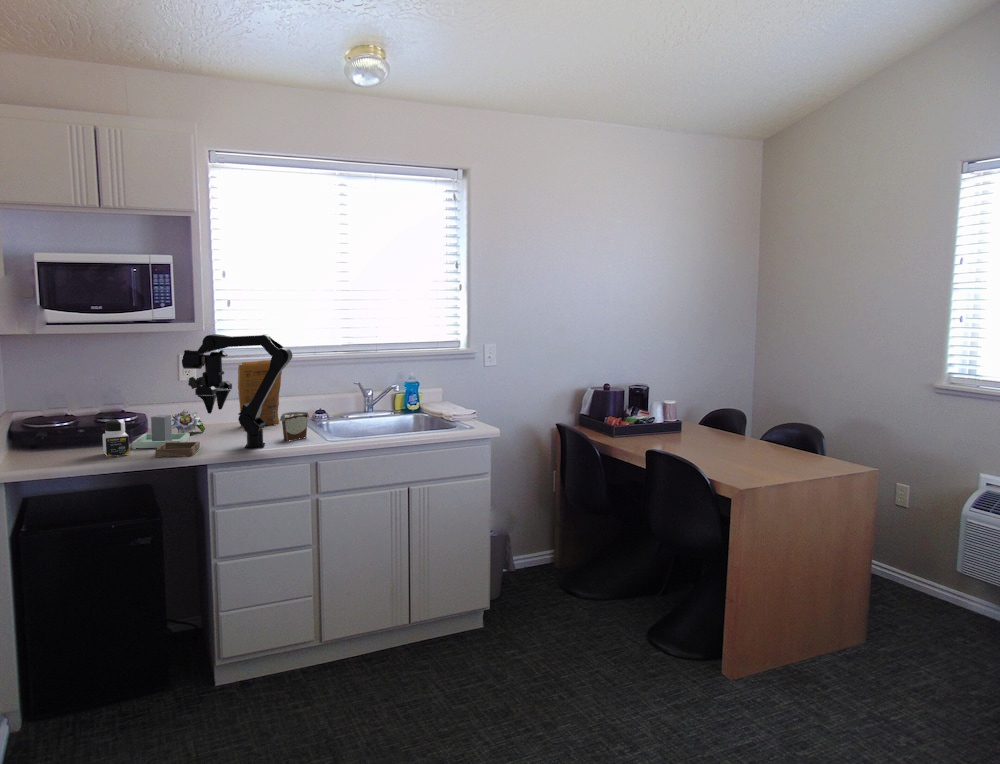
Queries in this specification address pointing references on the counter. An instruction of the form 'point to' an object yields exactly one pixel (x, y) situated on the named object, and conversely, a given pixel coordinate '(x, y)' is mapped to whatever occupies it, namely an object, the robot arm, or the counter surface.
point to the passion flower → (187, 422)
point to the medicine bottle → (115, 438)
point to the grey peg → (161, 428)
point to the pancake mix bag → (249, 384)
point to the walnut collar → (177, 449)
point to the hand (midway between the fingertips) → (214, 411)
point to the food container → (294, 425)
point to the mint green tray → (147, 442)
